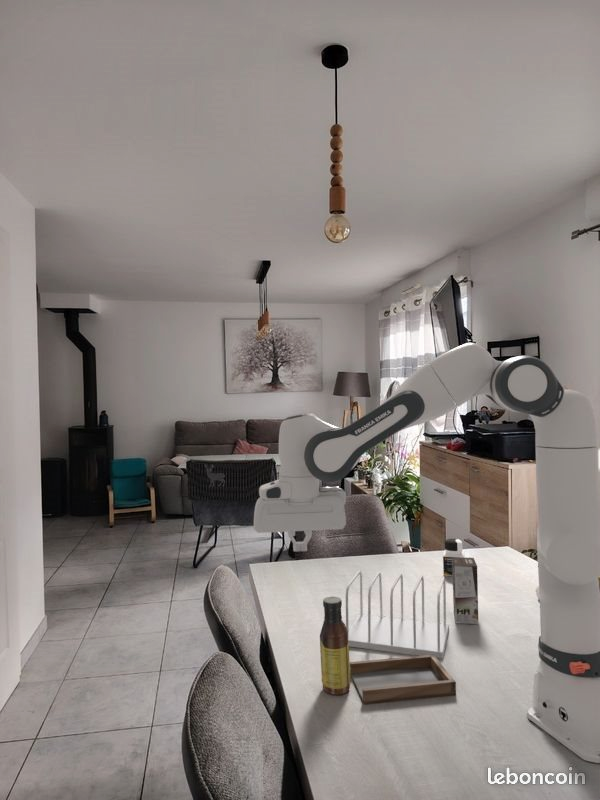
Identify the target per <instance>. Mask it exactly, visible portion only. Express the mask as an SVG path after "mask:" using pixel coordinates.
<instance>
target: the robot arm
mask: <svg viewBox="0 0 600 800" xmlns="http://www.w3.org/2000/svg"><path fill="white" fill-rule="evenodd" d="M478 396H486V397H487V398H489V400H491V401H492V402H493V403H494V404H496V405H497V406H498V407H500V408H502V409H504V410H505V411H508V412H512V413H519V414H521V413H522V414H523V413H524V414H528V416H530V418H531V420H532V422H533V425H534V426H533V427H534V430H535V431H534V432H535V439H534V441H535V444H534V445H535V471H536V472H535V473H536V475H535V478H536V479H535V480H536V494H537V495H536V496H537V497H536V498H537V511H538V513H537V515H538V526H537V529H536V549H537V552H536V553H537V570H538V574H537V575H538V586H539V594H540V600H539V617H540V619H539V621H540V622H539V623H540V624H539V625H540V635H539V636H538V644H537V649H538V657H539V659H540V660H539V664H538V667H537V669H536V670H535V672H534V675H533V689H532V690H533V691H532V705H531V707H530V708H529V709H528V710H527V714H526V715H527V719H528V720H530V721H531V722H532V723H534V724H535V725H537V726H538V727H539V728H540V729H542V730H543V731H544V732H546V733H547V734H548V735H550V736H551V737H553V738H554V739H555V740H557V741H558V742H559V743H561V745H563V746H565V747H566V748H567V749H568V750H570V751H571V752H572V753H574V754H575V755H576V756H578V757H580V758H581V759H582V760H584V761H586V762H591V763H595V764H600V583H599V582H600V581H599V576H600V490H599V463H598V458H599V457H598V436H597V435H598V434H597V428H596V426H597V425H596V421H595V415H594V412H593V411H594V410H593V406H592V402H591V400H590V399H589V397H588V396H587V395H585V394H584V393H582V392H580V391H577V390H575V389H568V388H567V389H565V388H564V387H563V386H562V384H561V382H560V381H559V380H558V378H557V377H556V375H555V373H554V372H553V371H552V369H551V367H549V365H548V364H547V363H546V362H545V361H543V360H542V359H540V358H538V357H536V356H532V355H518V356H514V357H510V358H508V359H506V360H502V361H501V360H497V359H495V358H494V357H493V356H492V354H491V353H490V352H489V351H488V350H487V349H486V348H485V346H482V345H480V344H479V343H476V342H466V343H463V344H462V345H458V346H456V347H454V348H452V349H450V350H447V351H446V352H444V353H441V354H440V355H439V356H437V357H435V358H433V359H432V360H430V361H428V362H427V363H425V364H423V365H422V366H420V367H419V368H418V369H417V370H415V371H414V372H413V373H411V375H409V376H408V377H407V378H406V379H405V380H404V381H403V382H402V383H400V385H399V386H398V387H397V388H396V389H395V391H394V392H393V393H391V395H390V396H389V397H388V398H387V399H386V400H385V401H383V402H382V403H381V404H379V405H378V406H377V407H376V408H374V409H372V410H371V411H369V412H368V413H366V414H364V415H362V416H361V417H359V418H357V419H356V420H355V421H353V422H352V423H350V424H348V425H347V426H344V427H339V426H336V425H332V424H330V423H328V422H327V421H323V420H322V419H321V418H319V417H318V416H316V414H314V413H312V412H311V413H302V414H295V415H291V416H287V417H286V418H284V419H283V420H282V421H281V424H280V426H279V432H278V433H279V434H278V457H279V463H280V468H279V471H278V479H275V480H273V481H271V482H268V483H265V484H262V485H260V486H259V488H258V494H259V497H258V499H257V500H256V502H255V506H254V512H253V513H254V514H253V530H255V532H256V533H258V534H261V533H262V534H264V533H265V534H266V533H281V532H282V533H286V532H287V535H288V537H289V539H290V541H291V543H292V547H293V549H292V551H293V552H294V553H295V552H307V551H308V543H309V542H310V540H311V538H312V536H313V531H329V530H343V529H344V528H345V526H346V525H347V518H346V511H345V504H346V502H347V493H346V491H345V490H344V489H343V488H340V487H339V486H320V481H322V482H325V483H334V482H338V481H340V480H342V479H344V478H345V477H346V476H347V475H349V473H351V471H352V470H353V469H354V468H355V467H356V466H357V465H358V463H359V462H360V460H361V458H362V456H363V455H364V454H365V453H367V452H369V451H370V450H371V449H373V448H375V447H377V446H378V445H379V444H382V442H384V441H386V440H388V439H389V438H391V437H392V436H394V435H395V434H397V433H399V432H401V431H404V430H407V429H409V428H412V427H415V426H418V425H422V424H424V423H428V422H431V421H433V420H436V419H438V418H440V417H441V418H442V417H443V416H445V415H448V413H450V412H452V411H454V410H456V409H458V407H460V406H462V405H464V404H465V403H467V402H469V401H470V400H472V399H474V398H476V397H478ZM296 532H304V536H305V537H304V539H303V541H296V539H295V536H296Z"/></svg>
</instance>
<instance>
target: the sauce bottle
mask: <svg viewBox="0 0 600 800" xmlns="http://www.w3.org/2000/svg"><path fill="white" fill-rule="evenodd" d="M342 604H343V601H342V598H341V597H339V596H333V595H332V596H327V597H325V598H323V600H322V605H323V608H324V609H323V610H324V619H323V623H322V627H321V630H320V634H319V644H320V645H319V646H320V647H319V649H320V666H321V667H320V668H321V671H320V672H321V682H322V688H323V691H324V692H325V693H327V694H331V695H336V696H341V695H343V694H346V693H348V692H349V691H350V689H351V675H350V662H351V661H350V646H349V641H348V631H347V628H346V623H345V622H344V621H343V619H342V618H343V616H342Z"/></svg>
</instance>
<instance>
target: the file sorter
mask: <svg viewBox="0 0 600 800" xmlns="http://www.w3.org/2000/svg"><path fill="white" fill-rule="evenodd" d="M358 576H359V583H360V584H359V592H360V593H359V595H360V597H359V598H360V599H359V601H360V602H359V604H360V605H359V606H360V610H359V612H360V613H358V615H357V616H356V618H355V619H354V621H353V623H352V624H351V626H350V627H349V590H350V587H351V586H352V584H353V583H354V581H355V580H356V579H357V578H358ZM403 576H404V575H403V574H402V573H399V574H398V576H397V578H396V579H395V581H394V583H393V584H392V585H391V589H390V600H389V601H390V602H389V604H390V605H389V608H390V612H389V613H390V614H389V615H390V617H389V616H383V588H382V574H381V571H377V573H376V575H375V576H374V578H372V580H371V582H370V584H369V586H368V595H367V605H368V606H367V610H368V611H367V614H364V613H363V611H364V610H363V573H362V571H361V570H358V571H357V572H356V573H355V574H354V575H353V577H352V579H350V581H349V582H348V583H347V586H346V589H345V626H346V628H347V631H348V641H349V648H351V647H353V648H357V649H365V650H366V649H367V650H373V651H379V652H380V651H381V652H388V653H395V654H403V655H409V656H410V655H411V656H417V655H418V656H423V655H434V656H435V657H436V658H437V659H444V655H445V650H446V646H447V641H448V636H449V633H450V624H449V623H447V613H446V612H447V611H446V609H447V607H446V606H447V605H446V604H447V597H446V577H445V576H442V579H441V580H440V584H439V587H438V590H437V591H438V592H437V601H436V603H437V605H436V606H437V607H436V608H437V609H436V611H437V614H436V616H437V619H436V620H437V622H433V621H426V620H425V580H424V579H425V577H424V575H420V577H418V580H417V583H416V584H415V586H414V588H413V592H412V619H407V618H404V579H403V578H404V577H403ZM377 579H378V581H379V582H378V584H379V586H378V587H379V608H380V609H379V611H380V612H379V613H380V614H379V615H380V616H378V615H373V614H371V612H372V611H371V610H372V609H371V606H372V605H371V603H372V602H371V598H372V597H371V595H372V588H373V585H374V584H375V583H376V580H377ZM399 580H400V618H398V617H394V613H393V609H394V607H393V606H394V602H393V601H394V600H393V599H394V597H393V596H394V591H395V587H396V586H397V584H398V582H399ZM420 583H421V620H416V596H417V595H416V594H417V590H418V588H419V586H420ZM442 589H443V591H442ZM442 592H443V593H442ZM441 593H442V595H443V596H442V597H443V622H442V623H441V611H440V610H441V607H440V606H441V603H440V602H441V601H440V600H441Z"/></svg>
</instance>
